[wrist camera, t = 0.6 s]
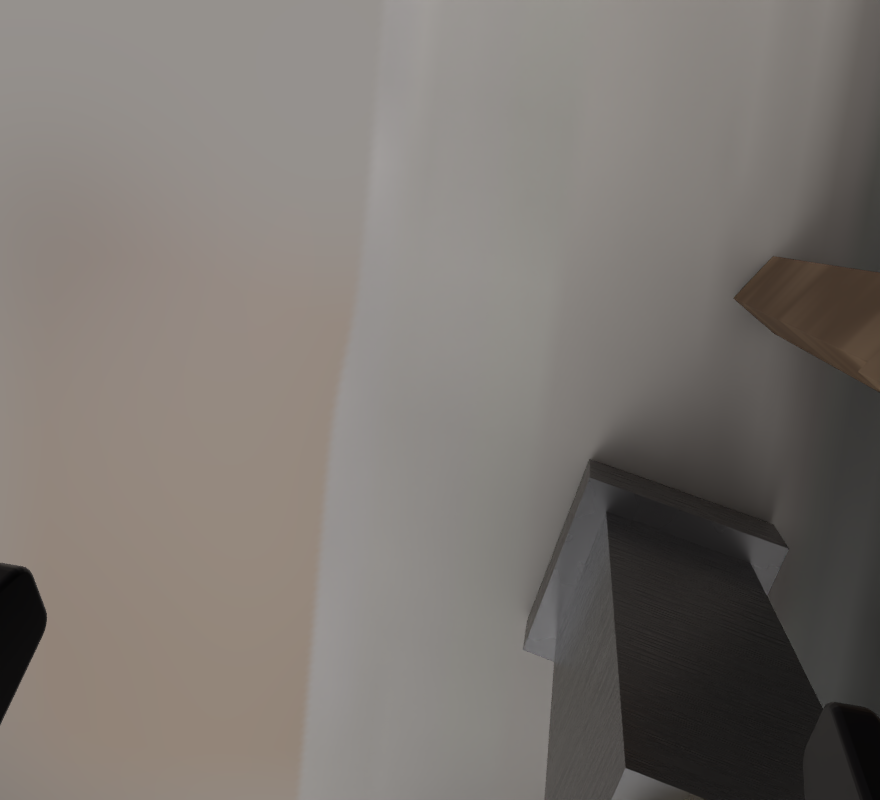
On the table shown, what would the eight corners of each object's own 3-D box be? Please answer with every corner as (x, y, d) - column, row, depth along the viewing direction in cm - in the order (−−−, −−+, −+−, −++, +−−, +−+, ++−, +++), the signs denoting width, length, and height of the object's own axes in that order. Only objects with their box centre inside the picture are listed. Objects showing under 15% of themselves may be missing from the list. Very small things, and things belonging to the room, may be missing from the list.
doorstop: (700, 685, 27) (872, 1369, 11) (527, 620, 28) (445, 1176, 11) (773, 524, 26) (1099, 1037, 9) (589, 459, 26) (596, 835, 10)
